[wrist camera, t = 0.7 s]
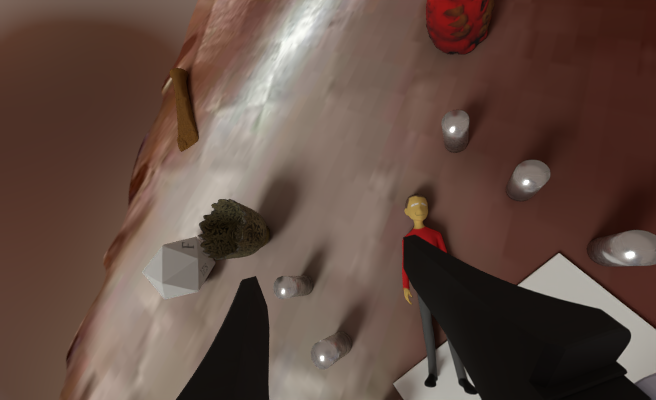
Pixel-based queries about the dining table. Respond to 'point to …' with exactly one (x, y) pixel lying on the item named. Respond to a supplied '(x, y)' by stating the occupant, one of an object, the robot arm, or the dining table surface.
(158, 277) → the die
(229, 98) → the dining table surface
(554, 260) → the mat
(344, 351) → the spacer field
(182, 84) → the primitive tool
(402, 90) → the dining table surface
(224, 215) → the cup
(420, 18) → the dining table surface
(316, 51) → the dining table surface
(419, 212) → the person figure
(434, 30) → the red clay folk toy
